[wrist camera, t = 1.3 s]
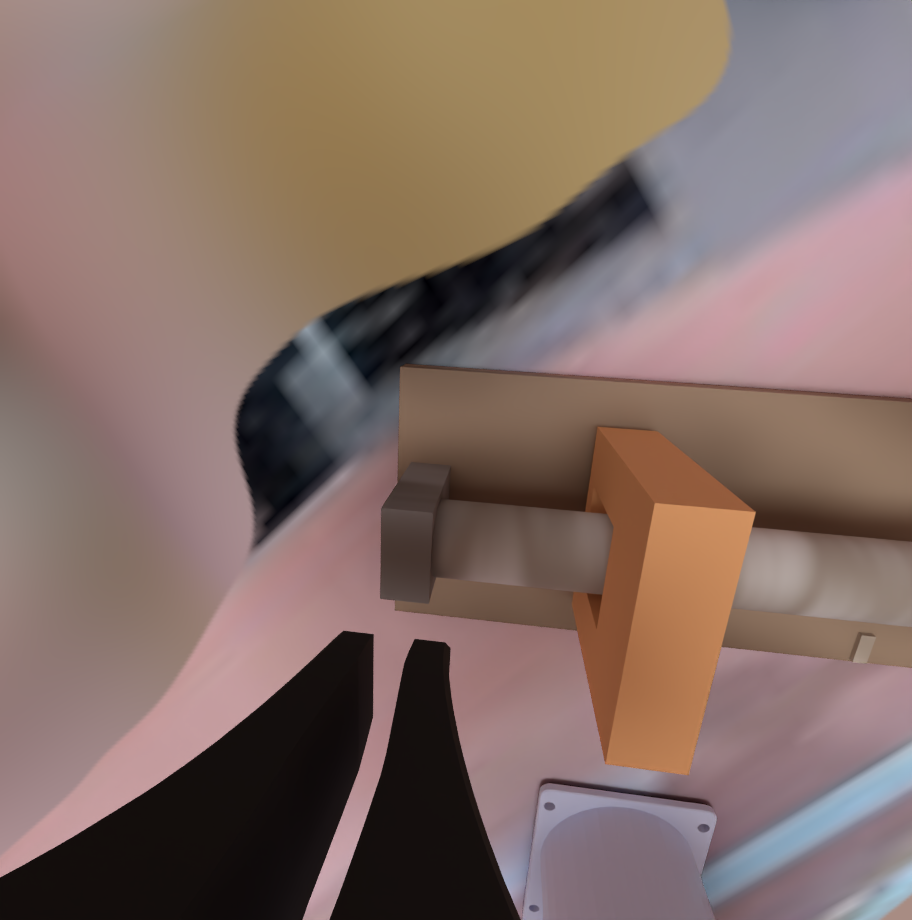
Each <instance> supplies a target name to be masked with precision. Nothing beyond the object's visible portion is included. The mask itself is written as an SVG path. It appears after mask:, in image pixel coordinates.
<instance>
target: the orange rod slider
mask: <svg viewBox="0 0 912 920" xmlns="http://www.w3.org/2000/svg"><path fill="white" fill-rule="evenodd" d="M585 512H591V513H602V514H608V516H609V518H610V520H611V523H612V525H613V527H614V528H613V534H612V540H611V546H610V552H609V558H608V564H607V570H606V576H605V582H604V588H603V594H602V595H600V594H591V593H581V592H573V599H572V608H573V612H574V617H575V622H576V627H577V631H578V636H579V641H580V646H581V650H582V655H583V660H584V665H585V669H586V674H587V679H588V684H589V689H590V693H591V698H592V703H593V708H594V712H595V717H596V722H597V727H598V731H599V736H600V741H601V746H602V750H603V755H604V760H605V764H608V765H616V766H623V767H631V768H639V769H646V770H654V771H661V772H669V773H676V774H684V775H689V771H690V767H691V763H692V759H693V755H694V751H695V747H696V744H697V740H698V736H699V732H700V728H701V724H702V720H703V716H704V712H705V709H706V705H707V701H708V697H709V693H710V689H711V685H712V681H713V677H714V673H715V670H716V666H717V662H718V658H719V654H720V650H721V646H722V642H723V638H724V634H725V631H726V627H727V623H728V619H729V615H730V611H731V607H732V603H733V599H734V595H735V592H736V588H737V584H738V580H739V576H740V572H741V568H742V564H743V560H744V556H745V553H746V549H747V545H748V541H749V537H750V533H751V529H752V525H753V521H754V517H755V514H756V512H755V511H754V510H753V509H752V508H750V507H749V506H748V505H747V504H745V503H744V502H743V501H742V500H741V499H739V498H738V497H737V496H736V495H735V494H733V493H732V492H731V491H730V490H728V489H727V488H726V487H725V486H724V485H722V484H721V483H720V482H719V481H717V480H716V479H715V478H714V477H713V476H711V475H710V474H709V473H708V472H706V471H705V470H704V469H703V468H702V467H700V466H699V465H698V464H697V463H696V462H694V461H693V460H692V459H691V458H689V457H688V456H687V455H686V454H685V453H683V452H682V451H681V450H680V449H678V448H677V447H676V446H675V445H674V444H672V443H671V442H670V441H669V440H668V439H666V438H665V437H664V436H663V435H661V434H660V433H659V432H658V431H647V430H634V429H621V428H608V427H597V433H596V440H595V447H594V454H593V461H592V468H591V475H590V482H589V489H588V495H587V502H586V509H585Z"/></svg>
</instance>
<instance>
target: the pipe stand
mask: <svg viewBox="0 0 912 920" xmlns="http://www.w3.org/2000/svg"><path fill="white" fill-rule="evenodd" d="M597 427H608V428H621V429H634V430H647V431H658V432H659V433H660V434H661V435H663V436H664V437H665V438H666V439H668V440H669V441H670V442H671V443H672V444H674V445H675V446H676V447H677V448H678V449H680V450H681V451H682V452H683V453H685V454H686V455H687V456H688V457H689V458H691V459H692V460H693V461H694V462H696V463H697V464H698V465H699V466H700V467H702V468H703V469H704V470H705V471H706V472H708V473H709V474H710V475H711V476H713V477H714V478H715V479H716V480H717V481H719V482H720V483H721V484H722V485H724V486H725V487H726V488H727V489H728V490H730V491H731V492H732V493H733V494H735V495H736V496H737V497H738V498H739V499H741V500H742V501H743V502H744V503H745V504H747V505H748V506H749V507H750V508H752V509H753V510H754V511H755V512H756V514H755V517H754V521H753V525H752V529H751V533H750V537H749V541H748V545H747V549H746V553H745V556H744V560H743V564H742V568H741V572H740V576H739V580H738V584H737V588H736V592H735V595H734V599H733V603H732V607H731V611H730V615H729V619H728V623H727V627H726V631H725V634H724V638H723V642H722V646H721V647H729V648H738V649H747V650H756V651H765V652H774V653H783V654H792V655H801V656H810V657H818V658H827V659H836V660H845V661H852V662H855V663H864V664H867V663H872V664H881V665H890V666H899V667H908V668H912V399H909V398H894V397H880V396H865V395H851V394H836V393H822V392H807V391H793V390H778V389H764V388H749V387H734V386H720V385H705V384H691V383H676V382H662V381H647V380H633V379H618V378H604V377H589V376H575V375H560V374H546V373H531V372H517V371H502V370H487V369H473V368H458V367H444V366H429V365H415V364H405V365H403V366H401V367H400V396H399V442H398V483H397V485H396V486H395V488H394V489H393V491H392V492H391V494H390V495H389V497H388V499H387V500H386V502H385V503H384V505H383V506H382V508H381V580H380V599H387V600H395V610H396V611H405V612H414V613H423V614H432V615H441V616H450V617H459V618H468V619H477V620H486V621H495V622H504V623H513V624H522V625H531V626H540V627H549V628H558V629H567V630H576V631H577V627H576V622H575V617H574V612H573V608H572V599H573V592H581V593H591V594H600V595H602V594H603V588H604V582H605V576H606V570H607V564H608V558H609V552H610V546H611V540H612V534H613V528H614V527H613V525H612V523H611V520H610V518H609V516H608V514H602V513H591V512H585V509H586V502H587V495H588V489H589V482H590V475H591V468H592V461H593V454H594V447H595V440H596V433H597Z"/></svg>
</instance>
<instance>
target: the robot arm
mask: <svg viewBox="0 0 912 920" xmlns="http://www.w3.org/2000/svg"><path fill="white" fill-rule="evenodd" d="M373 641H374V634H367V633H358V632H350V631H343V632H342V633H340V634H339V635H338V636H337V637H336V638H335V639H334V640H333V641H332V642H330V643H329V644H328V645H327V646H326V647H325V648H324V649H323V650H322V651H321V652H320V653H319V654H318V655H317V656H316V657H315V658H314V659H313V660H311V661H310V662H309V663H308V664H307V665H306V666H305V667H304V668H303V669H302V670H301V671H300V672H299V673H297V674H296V675H295V676H294V677H293V678H292V679H291V680H290V681H289V682H287V683H286V684H285V685H284V686H283V687H282V688H281V689H279V690H278V691H277V692H276V693H275V694H274V695H273V696H272V697H270V698H269V699H268V700H267V701H266V702H265V703H264V704H262V705H261V706H260V707H259V708H258V709H256V710H255V711H254V712H253V713H251V714H250V715H249V716H248V717H247V718H245V719H244V720H243V721H242V722H240V723H239V724H238V725H237V726H235V727H234V728H233V729H232V730H230V731H229V732H228V733H227V734H225V735H224V736H223V737H222V738H220V739H219V740H218V741H217V742H215V743H214V744H213V745H211V746H210V747H209V748H207V749H206V750H205V751H203V752H202V753H201V754H199V755H198V756H197V757H195V758H194V759H193V760H191V761H190V762H188V763H187V764H186V765H184V766H183V767H181V768H180V769H179V770H177V771H176V772H174V773H173V774H171V775H170V776H169V777H167V778H166V779H164V780H163V781H161V782H160V783H159V784H157V785H156V786H154V787H153V788H151V789H150V790H148V791H146V792H145V793H143V794H142V795H140V796H139V797H137V798H135V799H134V800H132V801H131V802H129V803H127V804H126V805H124V806H122V807H121V808H119V809H118V810H116V811H114V812H113V813H111V814H109V815H108V816H106V817H105V818H103V819H101V820H100V821H98V822H97V823H95V824H93V825H92V826H90V827H88V828H87V829H85V830H84V831H82V832H80V833H79V834H77V835H75V836H74V837H72V838H70V839H69V840H67V841H65V842H63V843H62V844H60V845H58V846H56V847H55V848H53V849H51V850H49V851H48V852H46V853H44V854H42V855H40V856H39V857H37V858H35V859H33V860H32V861H30V862H28V863H26V864H24V865H23V866H21V867H19V868H17V869H15V870H13V871H12V872H10V873H8V874H6V875H4V876H2V877H0V920H302V919H303V917H304V914H305V911H306V908H307V905H308V902H309V900H310V897H311V894H312V892H313V889H314V887H315V884H316V881H317V879H318V876H319V874H320V871H321V868H322V866H323V863H324V861H325V858H326V855H327V853H328V850H329V847H330V845H331V842H332V840H333V837H334V834H335V832H336V829H337V827H338V824H339V821H340V819H341V816H342V814H343V811H344V808H345V806H346V803H347V800H348V798H349V795H350V792H351V790H352V787H353V784H354V782H355V779H356V776H357V774H358V771H359V767H360V764H361V760H362V757H363V753H364V749H365V746H366V742H367V738H368V734H369V730H370V726H371V722H372V719H373ZM450 649H451V648H450V647H449V646H448V645H447V644H446V643H445V642H436V641H427V640H419V639H415V640H414V642H413V644H412V646H411V648H410V650H409V653H408V655H407V658H406V660H405V663H404V668H403V672H402V677H401V682H400V687H399V692H398V697H397V702H396V708H395V713H394V718H393V723H392V728H391V733H390V738H389V743H388V748H387V753H386V757H385V761H384V764H383V768H382V772H381V776H380V779H379V782H378V785H377V788H376V791H375V794H374V797H373V800H372V803H371V806H370V809H369V812H368V815H367V818H366V821H365V824H364V827H363V830H362V832H361V835H360V838H359V841H358V844H357V846H356V849H355V852H354V855H353V858H352V860H351V863H350V866H349V869H348V872H347V874H346V877H345V880H344V883H343V886H342V888H341V891H340V894H339V896H338V899H337V902H336V904H335V907H334V909H333V912H332V915H331V917H330V920H521V919H520V917H519V915H518V912H517V910H516V908H515V905H514V903H513V901H512V898H511V896H510V893H509V891H508V889H507V886H506V884H505V882H504V879H503V877H502V874H501V871H500V869H499V866H498V863H497V861H496V858H495V855H494V852H493V850H492V847H491V844H490V842H489V839H488V836H487V833H486V830H485V827H484V824H483V821H482V818H481V815H480V812H479V809H478V806H477V803H476V800H475V797H474V793H473V790H472V787H471V783H470V780H469V776H468V772H467V768H466V765H465V761H464V757H463V753H462V749H461V745H460V741H459V736H458V731H457V726H456V721H455V716H454V711H453V705H452V698H451V690H450V681H449V665H450ZM548 802H551V803H548ZM716 822H717V817H716V814H715V812H714V810H713V808H712V807H710V806H708V805H705V804H698V803H691V802H683V801H676V800H669V799H661V798H654V797H647V796H640V795H632V794H625V793H618V792H610V791H603V790H596V789H589V788H581V787H574V786H567V785H560V784H552V783H547V784H544V785H543V786H541V788H540V790H539V797H538V804H537V811H536V818H535V826H534V833H533V840H532V847H531V854H530V861H529V868H528V875H527V882H526V890H525V897H524V904H523V911H522V919H523V920H715V918H714V915H713V912H712V909H711V906H710V903H709V900H708V897H707V894H706V891H705V888H704V885H703V882H702V879H701V874H702V870H703V867H704V863H705V860H706V857H707V853H708V850H709V846H710V843H711V839H712V836H713V832H714V829H715V825H716Z"/></svg>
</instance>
